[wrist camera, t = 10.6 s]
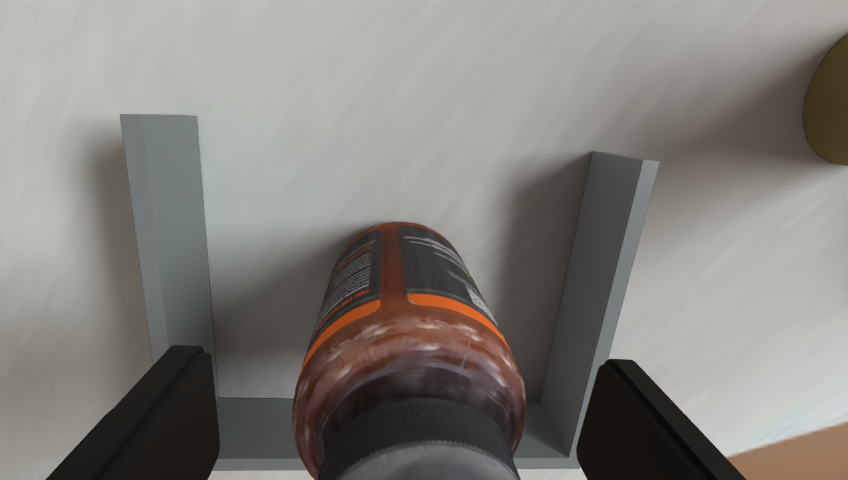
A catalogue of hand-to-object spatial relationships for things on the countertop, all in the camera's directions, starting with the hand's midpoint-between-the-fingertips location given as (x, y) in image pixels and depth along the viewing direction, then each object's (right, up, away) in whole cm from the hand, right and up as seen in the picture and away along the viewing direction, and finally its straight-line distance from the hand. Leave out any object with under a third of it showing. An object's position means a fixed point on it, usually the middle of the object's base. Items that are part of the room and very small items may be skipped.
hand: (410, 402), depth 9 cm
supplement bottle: (-1, +2, +8) cm, 9 cm away
